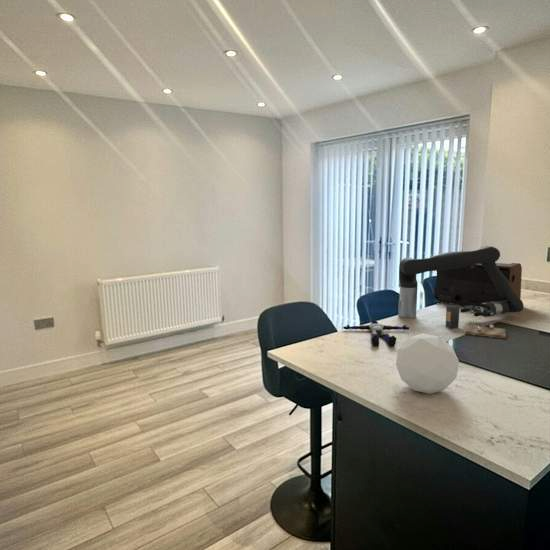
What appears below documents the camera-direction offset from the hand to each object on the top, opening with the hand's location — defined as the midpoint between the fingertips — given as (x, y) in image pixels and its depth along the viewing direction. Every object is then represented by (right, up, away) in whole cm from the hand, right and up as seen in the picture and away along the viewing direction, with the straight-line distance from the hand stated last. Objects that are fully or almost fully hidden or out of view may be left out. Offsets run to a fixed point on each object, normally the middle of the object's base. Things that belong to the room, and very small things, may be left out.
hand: (467, 312), depth 205 cm
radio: (+24, +1, +43) cm, 49 cm away
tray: (+2, -9, -13) cm, 16 cm away
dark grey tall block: (-9, -7, -3) cm, 12 cm away
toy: (-50, -11, -15) cm, 53 cm away
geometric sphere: (-49, -19, -71) cm, 89 cm away
